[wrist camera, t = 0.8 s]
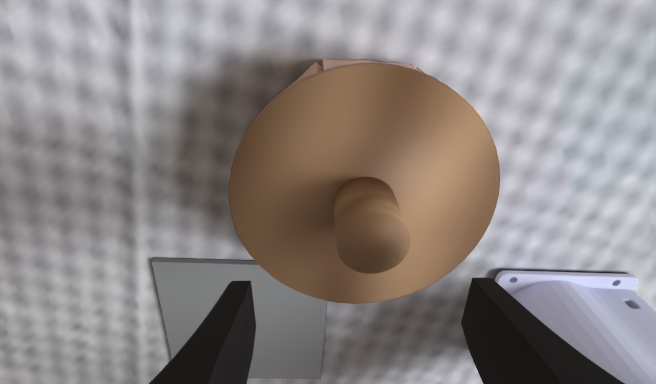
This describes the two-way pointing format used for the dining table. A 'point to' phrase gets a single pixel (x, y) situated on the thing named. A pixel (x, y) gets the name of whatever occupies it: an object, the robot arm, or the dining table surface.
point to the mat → (269, 305)
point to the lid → (364, 183)
